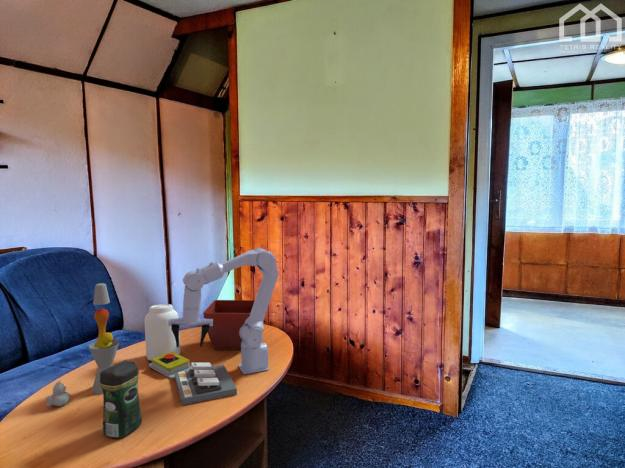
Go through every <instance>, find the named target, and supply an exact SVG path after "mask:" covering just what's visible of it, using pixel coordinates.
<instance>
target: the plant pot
mask: <svg viewBox="0 0 625 468" xmlns="http://www.w3.org/2000/svg"><path fill="white" fill-rule="evenodd" d="M254 301H255V299H254V300H253V299H241V300H240V299H214V300H213V301H212V302H211V303H210V304H209V305H208V306H207V308H206V309H205V310H204V311H203V313H202V314H203V318H204V319H213V326H209V331H208V332H207V335H208V337H209V340H210V343H211V346H212V348H213V349H214V351H241V343H242V338H241V337H240V335H239V331H240V328H241V327H242V326H243V325H244V323H245V321H246V319H247V318H249V316H250V313H251V310H252V307H253V304H254Z"/></svg>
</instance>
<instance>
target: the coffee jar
mask: <svg viewBox="0 0 625 468" xmlns="http://www.w3.org/2000/svg"><path fill="white" fill-rule="evenodd" d="M138 368H139V367H138V364H137V363H136V362H135V361H133V360H127V359H123V360H122V361H120V362H118V363H115V364H113V366H111V367H109V368H107V369H105V370H103V371H102V372H101V373H100V386H101V388H102V390H103V394H102V396H103V399H102V400H103V415H102V429H103V430H102V431H103V432H102V433H103V435H104V436H106V437H107V438H111V439H119V438H121V439H123V438H124V437H127V436H128V435H129V434H131V433H133V432H134V431H135V430H136V429H138V428H139V427H141V425H142V423H143V422H142V421H143V418H142V410H141V405H140V399H139V398H140V397H139V388H138V385H139V384H138V383H139V376H140V373H139V369H138Z"/></svg>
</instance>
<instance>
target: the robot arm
mask: <svg viewBox="0 0 625 468" xmlns="http://www.w3.org/2000/svg"><path fill="white" fill-rule="evenodd" d="M277 262H278V260H277V257H276V256H275V255H274V254H273V252H271V251H268V250H266V249H264V248H262V247H256V248H254V249H251V250H247V251H245V252H244V253H242V254H238V255H237V256H235V257H233V258H230V259H229V260H227V261H225V262H224V261H223V262H222V263H219V262H213V261H211V262H209V263H208V265H206V266H203V267H201V268H199V267H198V268H195V271H193V270H190V271H188V272H186V274H185V275H184V276H183V278H182V282H183V284H184V289H183V291H184V292H183V301H182V316H181V317H179V318H177V319H169V320H168V326H172V327H171V329H172V332H173V334H174V337H175V340H176V347H179V333H180V327H181V326H195V327H196V326H201V333H200V341H199V342H200V343H199V347H200V348H202V347H203V344H204V340H205V337H206V336H207V335H208V331H209V326H213V319H204V317H202V318H201V304H202V288H203V287H204V285H208V284H210V283H212V282H215V281H217V280H220V279H222V278H223V277H224V275H225V273H228V272H230V271H233V270H235V269H238V268H241V267H243V266H253V267H257V268H258V270H259V272H260V274H262V277H261V280H260V281H261V282H260V284H259V287H258V290H257V293H256V296H255V299H254V300H255V301H254V304H253V307H252V310H251V313H250V316H249V318H247V319H246V321H245V323H244V325H243V326H242V327H241V328H240V331H239V335H240V337H241V338H242V343H241V350H240V358H241V360H240V361H241V363H240V364H238V368H239V370H240V371H241V373H242V374H243V375H248V374H254V373H259V372H264V371H269V370H270V369H269V368H270V367H269V349H268V345H267V343H266V342H263V340H264V337H263V333H264V330H265V329H264V319H265V317H266V313H267V310H268V307H269V304H270V302H271V299H272V295H273V293H274V291H275V288H276V287H275V286H276V284H277V281H278V278H279V270H278V264H277Z"/></svg>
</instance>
